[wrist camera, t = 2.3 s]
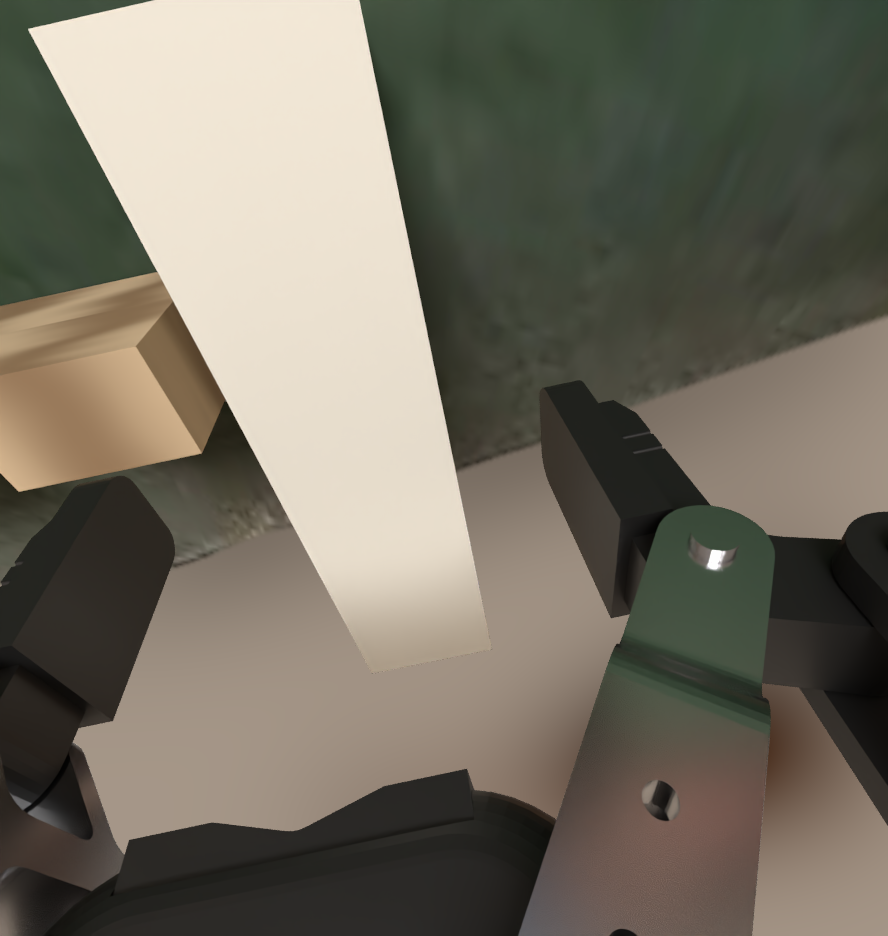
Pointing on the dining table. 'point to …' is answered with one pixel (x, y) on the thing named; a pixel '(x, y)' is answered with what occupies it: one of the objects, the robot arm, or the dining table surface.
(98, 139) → the white rectangular block
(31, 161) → the dining table surface
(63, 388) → the oak base
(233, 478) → the dining table surface
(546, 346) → the dining table surface
